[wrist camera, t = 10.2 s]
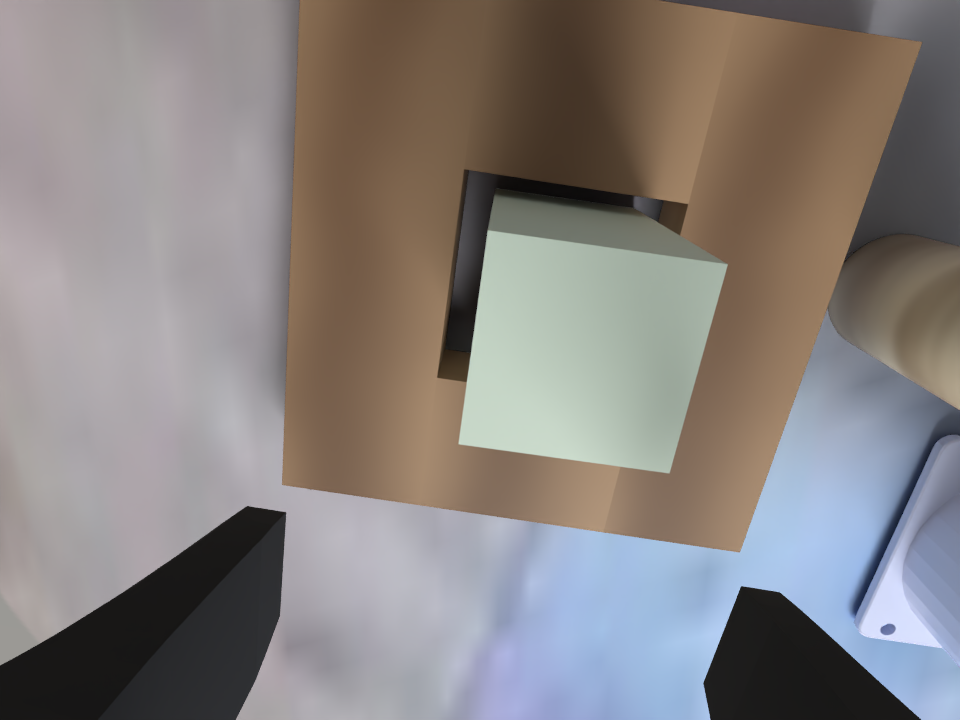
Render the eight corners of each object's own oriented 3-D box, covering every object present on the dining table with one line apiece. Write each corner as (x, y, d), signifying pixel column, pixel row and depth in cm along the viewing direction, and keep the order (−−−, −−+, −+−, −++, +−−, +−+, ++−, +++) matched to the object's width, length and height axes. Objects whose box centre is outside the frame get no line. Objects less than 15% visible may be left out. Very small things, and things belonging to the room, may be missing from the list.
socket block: (864, 54, 16) (922, 42, 14) (714, 507, 21) (739, 552, 19) (330, -30, 16) (301, -57, 14) (306, 446, 21) (282, 484, 18)
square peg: (633, 207, 18) (727, 264, 10) (604, 338, 19) (669, 473, 12) (495, 188, 18) (487, 230, 10) (477, 320, 19) (458, 444, 12)
